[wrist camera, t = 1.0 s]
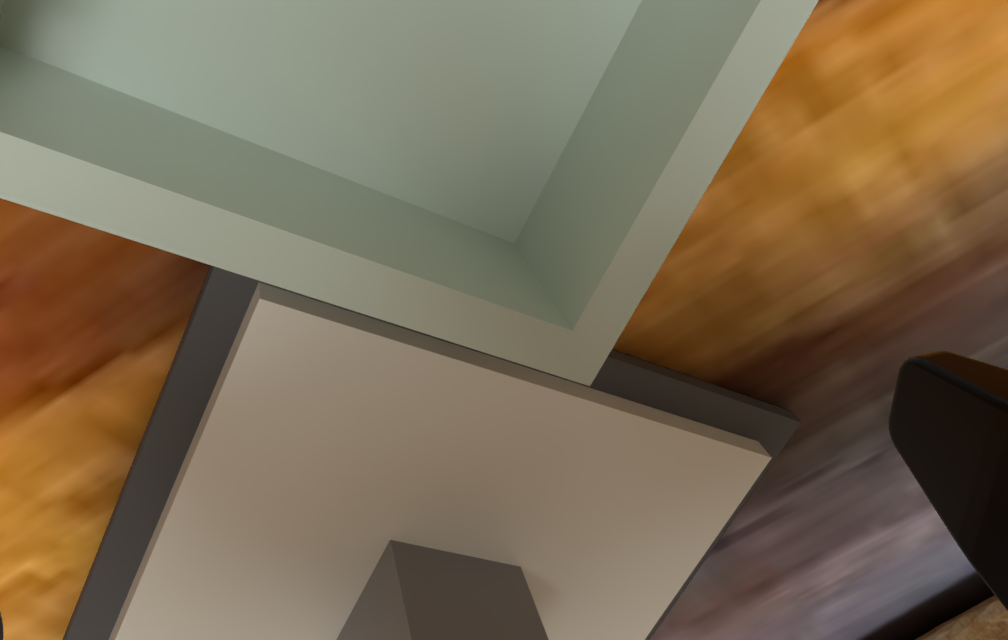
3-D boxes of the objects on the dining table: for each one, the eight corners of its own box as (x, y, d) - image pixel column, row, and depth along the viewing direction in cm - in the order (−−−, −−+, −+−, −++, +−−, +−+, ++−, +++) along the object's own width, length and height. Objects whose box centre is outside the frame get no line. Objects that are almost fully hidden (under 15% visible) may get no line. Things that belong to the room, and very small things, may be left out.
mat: (790, 411, 27) (801, 422, 26) (531, 785, 32) (536, 800, 32) (229, 217, 19) (229, 228, 19) (22, 741, 25) (17, 760, 25)
